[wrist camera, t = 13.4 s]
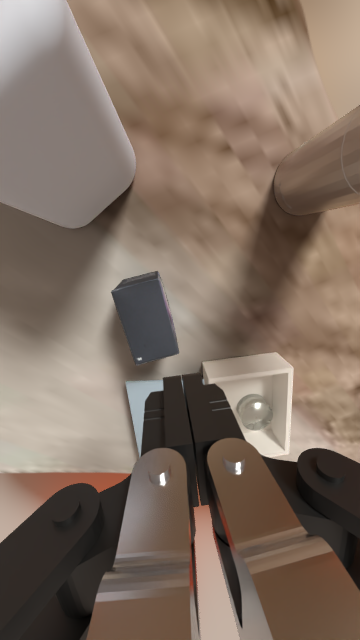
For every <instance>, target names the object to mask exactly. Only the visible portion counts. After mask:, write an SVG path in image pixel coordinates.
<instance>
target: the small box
mask: <svg viewBox="0 0 360 640" xmlns="http://www.w3.org/2000/svg"><path fill="white" fill-rule="evenodd" d="M111 293H112V296H113V299H114V302H115V305H116V308H117V311H118V314H119V317H120V320H121V323H122V326H123V329H124V332H125V335H126V338H127V341H128V344H129V347H130V350H131V353H132V356H133V359H134V362H135V364H136V365H140V364H144V363H148V362H151V361H155V360H158V359H162V358H166V357H169V356H173V355H177V354H179V350H178V343H177V338H176V333H175V328H174V324H173V319H172V315H171V311H170V307H169V303H168V300H167V297H166V293H165V290H164V286H163V283H162V280H161V277H160V275H159V272H158V271H155V272H151V273H147V274H143V275H140V276H136V277H132V278H128V279H124V280H122V281H121V283H120V284H119V285H118V286H117V287H116V288H115V289H114V290H112V291H111Z"/></svg>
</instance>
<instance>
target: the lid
mask: <svg viewBox="0 0 360 640" xmlns="http://www.w3.org/2000/svg"><path fill="white" fill-rule="evenodd" d="M202 381H203V384H204V379H202ZM182 386H183V382H182ZM126 388H127V393H128V399H129V404H130V409H131V415H132V420H133V425H134V431H135V436H136V441H137V447H138V452H139V457H140V456H141V445H142V432H143V421H144V407H145V400H146V399H147V397H148V396H149V394H150V393H151V392H155V391H163V380H151V381H126ZM183 392H184V391H183Z"/></svg>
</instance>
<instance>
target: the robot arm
mask: <svg viewBox="0 0 360 640" xmlns="http://www.w3.org/2000/svg"><path fill="white" fill-rule="evenodd" d="M274 194H275V197H276V200H277V202H278V204H279V205H280V207H281V208H282V209H283V210H284V211H286V212H287V213H289V214H292V215H297V216H301V215H307V214H312V213H317V212H323V211H327V210H332V209H337V208H342V207H346V206H351V205H356V204H360V105H359V106H358V107H356V108H355V109H353V110H352V111H350V112H349V113H348V114H346V115H345V116H343V117H342V118H340V119H339V120H338V121H336V122H335V123H333V124H332V125H330V126H329V127H327V128H326V129H325V130H323V131H322V132H320V133H319V134H317V135H316V136H314V137H313V138H312V139H310V140H309V141H307V142H306V143H304V144H303V145H301V146H300V147H298V148H297V149H296V150H294V151H293V152H291V153H290V154H289V155H288V156H286V157H285V158H284V160H283V161H282V162H281V164H280V165H279V167H278V169H277V171H276V175H275V178H274ZM182 382H183V386H182ZM183 391H184V392H183ZM196 477H197V481H196ZM197 483H198V489H199V495H200V501H201V505H209V508H210V513H211V518H212V527H213V536H214V540H215V544H216V548H217V552H218V556H219V559H220V563H221V567H222V571H223V575H224V579H225V582H226V586H227V590H228V594H229V598H230V602H231V605H232V609H233V613H234V617H235V621H236V625H237V629H238V633H239V637H240V640H360V463H358V462H355V461H353V460H351V459H349V458H347V457H345V456H343V455H341V454H339V453H336V452H334V451H331V450H327V449H322V448H312V449H308V450H306V451H304V452H302V453H301V454H300V456H299V458H298V461H297V462H291V461H284V460H277V459H272V458H269V457H266V456H263V455H261V454H260V453H259V452H258V451H257V449H256V448H255V447H254V446H253V445H251V444H250V443H248V442H247V441H246V440H245V437H244V435H243V433H242V431H241V429H240V426H239V424H238V422H237V420H236V418H235V415H234V413H233V411H232V409H231V407H230V404H229V402H228V401H227V398H226V396H225V393H224V391H223V390H222V389H221V388H220V387H218V386H217V385H216V384H215V383H214V384H207V385H204V384H203V381H202V378H201V375H200V373H194V374H187V375H182V380H181V375H180V376H172V377H164V378H163V391H155V392H151V393H150V394H149V396H148V397H147V399H146V400H145V407H144V421H143V432H142V445H141V456H140V458H139V460H138V461H137V462H136V464H135V465H134V468H133V471H132V473H131V475H130V476H128V477H127V478H126V479H125V480H123V481H122V482H120V483H118V484H117V485H115V486H113V487H111V488H108V489H106V490H104V491H102V492H100V493H98V492H97V490H96V489H95V488H94V487H92V486H91V485H89V484H85V483H78V484H73V485H70V486H67V487H65V488H63V489H61V490H60V491H58V492H57V493H55V494H54V495H53V496H52V497H51V498H49V499H48V500H47V501H46V502H45V503H44V504H43V505H42V506H40V507H39V508H38V509H37V510H36V511H35V512H34V513H33V514H32V515H31V516H30V517H28V518H27V519H26V520H25V521H24V522H23V523H22V524H21V525H20V526H19V527H18V528H16V529H15V530H14V531H13V532H12V533H11V534H10V535H9V536H8V537H7V538H6V539H4V540H3V541H2V542H1V543H0V640H201V636H200V620H199V603H198V587H197V574H196V573H197V571H196V555H195V540H194V537H195V531H196V529H195V518H194V509H193V507H198V506H199V501H198V491H197Z"/></svg>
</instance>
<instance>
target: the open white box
mask: <svg viewBox="0 0 360 640" xmlns="http://www.w3.org/2000/svg"><path fill="white" fill-rule="evenodd" d="M202 367H203V379H204V385H207V384H214V383H215V384H216V385H217V386H218V387H220V388H221V389H222V390H223V391H224V393H225V396H226V398H227V401H228V402H229V404H230V407H231V409H232V411H233V413H234V415H235V418H236V420H237V422H238V424H239V426H240V429H241V431H242V433H243V435H244V437H245V440H246V441H247V442H248V443H250V444H251V445H253V446H254V447H255V448H256V449H257V451H258V452H259V453H260V454H261V455H263V456H266V457H274V456H280V455H287V454H289V445H290V425H291V406H292V387H293V367H292V366H291V365H290V364H289V363H288V362H287V361H286V360H284V359H283V358H282V357H281V356H280V355H279V354H278V353H277V352H273V353H265V354H258V355H250V356H242V357H234V358H227V359H219V360H211V361H203V362H202ZM249 394H259V395H261V396H262V397H263V398H264V399H265V400H266V402H267V403H268V405H269V406H270V407H271V409H272V411H273V418H272V421H271V422H270V424H269V425H268V426H266V427H265V428H263V429H261V430H249V429H247V428H246V427H245V426H244V425H243V423H242V421H241V419H240V417H239V415H238V413H237V404H238V402H239V401H240V399H242V398H243V397H244V396H246V395H249Z"/></svg>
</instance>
